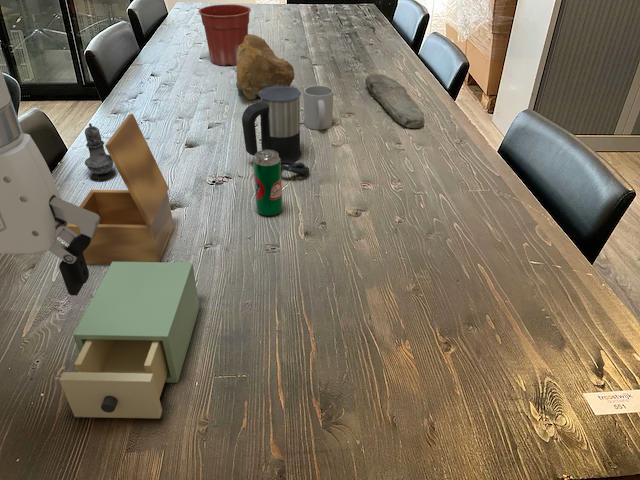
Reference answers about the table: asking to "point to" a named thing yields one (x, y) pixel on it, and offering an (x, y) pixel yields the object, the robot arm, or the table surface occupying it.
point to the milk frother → (276, 126)
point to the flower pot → (225, 31)
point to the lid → (137, 168)
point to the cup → (318, 107)
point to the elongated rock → (395, 100)
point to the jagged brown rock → (260, 67)
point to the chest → (125, 229)
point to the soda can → (268, 182)
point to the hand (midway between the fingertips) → (31, 285)
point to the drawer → (117, 379)
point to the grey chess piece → (98, 156)
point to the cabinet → (144, 308)
